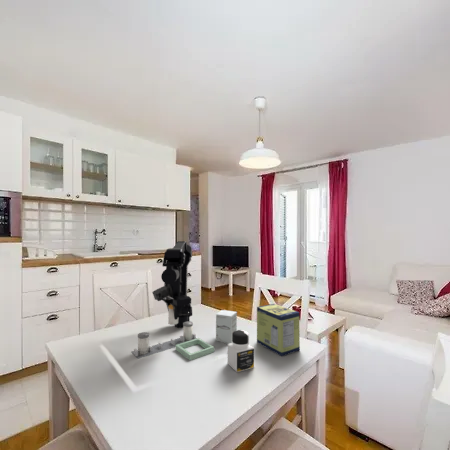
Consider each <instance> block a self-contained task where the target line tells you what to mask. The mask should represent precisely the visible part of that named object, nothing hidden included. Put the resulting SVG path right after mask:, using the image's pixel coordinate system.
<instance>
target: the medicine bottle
mask: <svg viewBox="0 0 450 450" xmlns="http://www.w3.org/2000/svg"><path fill="white" fill-rule="evenodd" d="M227 364H228V365H229V366H230V367H231V368H232V369H233V371H235V372H236V373H240V372H244V371H247V370H250V369H254V368H255V347H254V346H252V345H251V344H250V333H249V332H248V331H246V330H242V329H237V331H234V332H233V334H232V343H230V344H228V345H227Z"/></svg>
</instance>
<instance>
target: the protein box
mask: <svg viewBox="0 0 450 450" xmlns="http://www.w3.org/2000/svg"><path fill="white" fill-rule="evenodd" d="M300 337H301V336H300V311H296V310H294V309H290V308H287V307H285V306H282V305H279V304H276V303H271V304H266V305H260V306H256V343H257V344H259V345H261V346H262V347H264V348H266V349H268V350H270V351H271V352H273V353H274V354H276V355H278V356H280V357H283V356H284V357H285V356H287V355H289V354H292V353H296V352H298V351H300V348H301V347H300V343H301V342H300Z"/></svg>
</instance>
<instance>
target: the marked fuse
mask: <svg viewBox="0 0 450 450" xmlns="http://www.w3.org/2000/svg"><path fill="white" fill-rule="evenodd" d="M168 308H169V312H168V321H167V322H168V325H169V326H170V325H172V326H175V324H178V319H176V320H175V319H174V310H173V306H172V305H169V306H168ZM168 308H167V309H168Z"/></svg>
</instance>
